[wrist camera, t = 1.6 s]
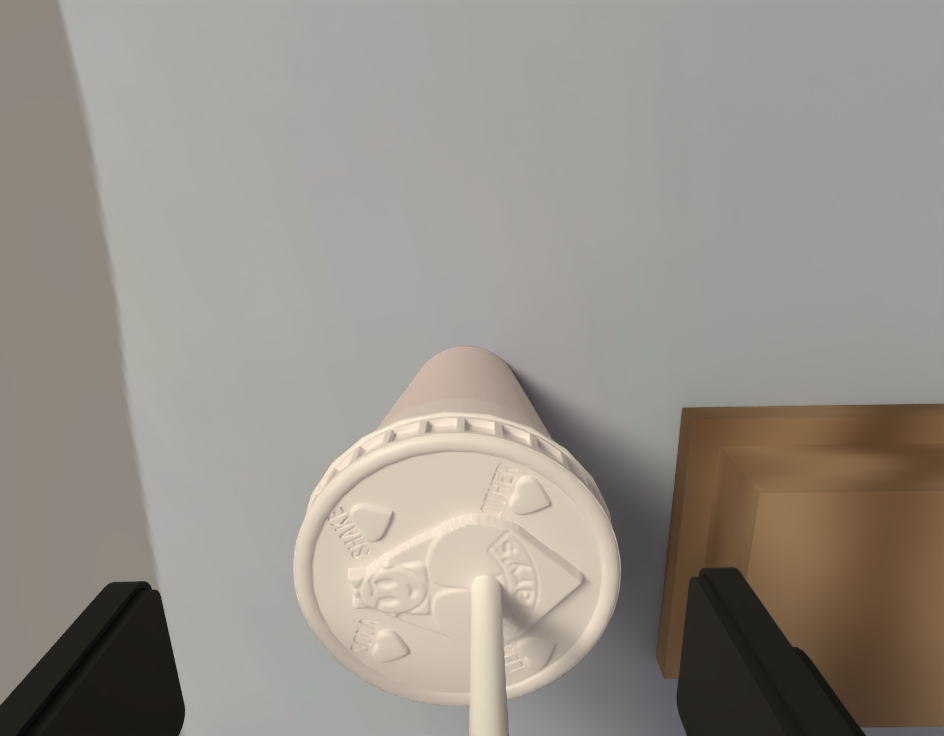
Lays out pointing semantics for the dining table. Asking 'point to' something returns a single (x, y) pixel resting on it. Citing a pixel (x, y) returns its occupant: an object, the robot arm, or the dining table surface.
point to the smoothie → (458, 547)
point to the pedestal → (823, 542)
